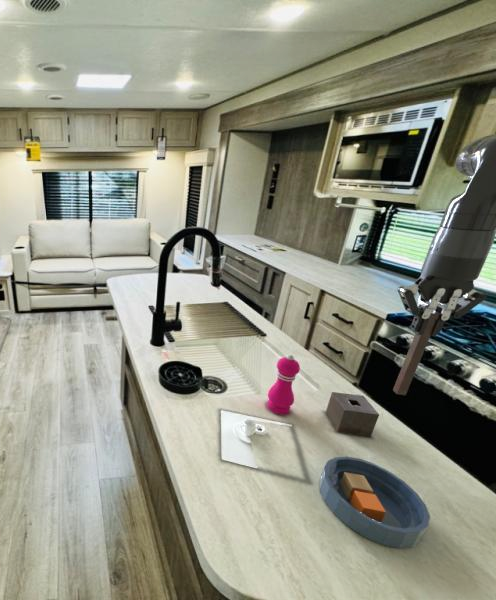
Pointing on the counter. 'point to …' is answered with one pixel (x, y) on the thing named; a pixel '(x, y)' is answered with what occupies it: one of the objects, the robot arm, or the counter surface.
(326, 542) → the counter surface
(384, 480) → the bowl
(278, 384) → the pepper mill
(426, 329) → the stir stick
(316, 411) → the counter surface
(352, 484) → the block
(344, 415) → the stick stand
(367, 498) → the block
